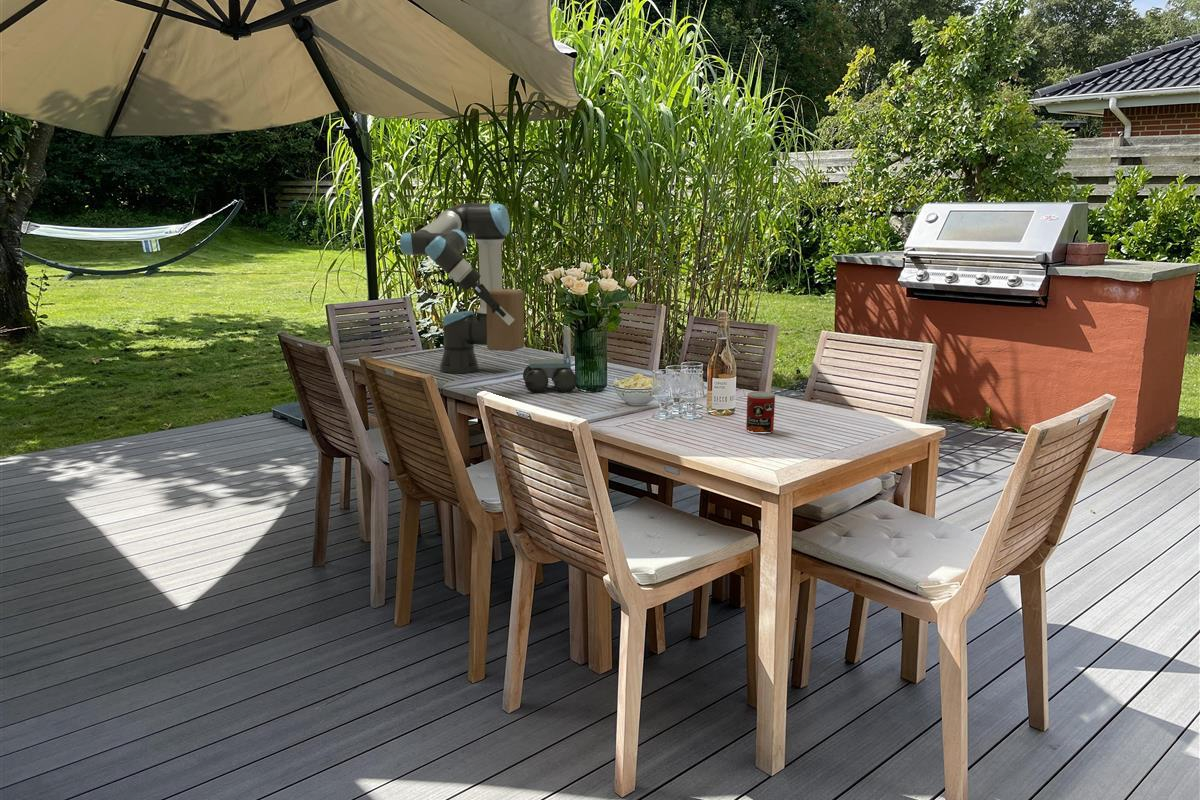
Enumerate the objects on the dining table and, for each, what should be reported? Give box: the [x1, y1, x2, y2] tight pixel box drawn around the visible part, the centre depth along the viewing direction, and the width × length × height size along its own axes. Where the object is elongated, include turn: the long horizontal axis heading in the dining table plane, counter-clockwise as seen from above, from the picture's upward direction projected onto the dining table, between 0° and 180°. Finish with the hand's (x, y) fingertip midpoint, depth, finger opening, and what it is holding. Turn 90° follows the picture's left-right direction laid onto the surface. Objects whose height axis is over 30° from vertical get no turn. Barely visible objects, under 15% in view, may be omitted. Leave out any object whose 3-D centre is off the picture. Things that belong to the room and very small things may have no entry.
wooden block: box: [486, 288, 525, 352], centre depth 311 cm, size 10×10×20 cm
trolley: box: [522, 324, 578, 394], centre depth 322 cm, size 14×18×25 cm
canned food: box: [745, 390, 776, 432], centre depth 261 cm, size 8×8×11 cm
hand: (511, 320), depth 311 cm, fingers closed on wooden block, 13 cm apart
